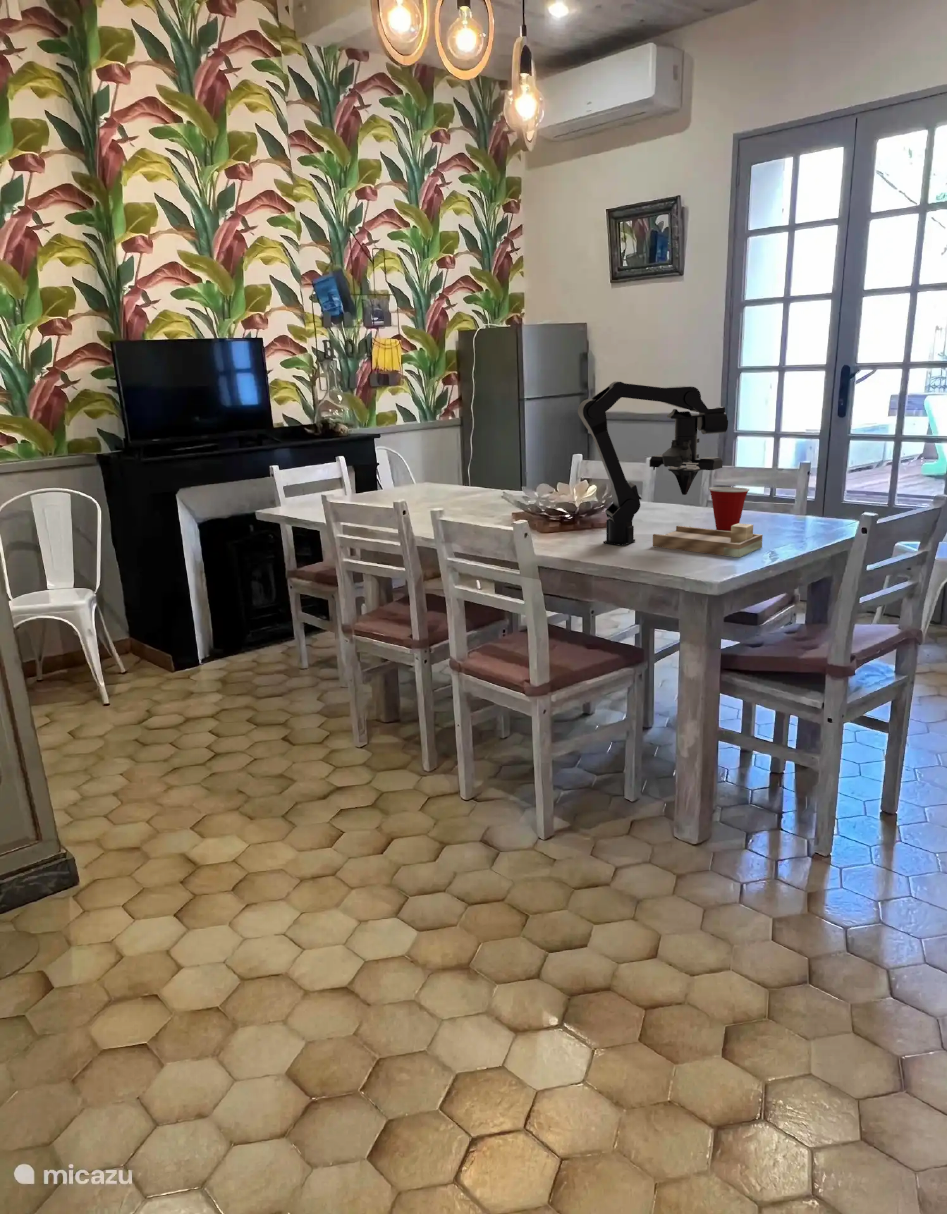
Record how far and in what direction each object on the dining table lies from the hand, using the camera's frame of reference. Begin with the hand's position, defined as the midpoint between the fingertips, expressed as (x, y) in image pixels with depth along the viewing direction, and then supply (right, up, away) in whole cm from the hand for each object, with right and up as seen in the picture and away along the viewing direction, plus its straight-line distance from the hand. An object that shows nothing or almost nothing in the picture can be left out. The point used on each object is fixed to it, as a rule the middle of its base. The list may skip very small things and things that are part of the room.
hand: (684, 494), depth 222 cm
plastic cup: (+15, -8, +12) cm, 21 cm away
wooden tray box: (+4, -14, -7) cm, 17 cm away
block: (+12, -13, -12) cm, 21 cm away
